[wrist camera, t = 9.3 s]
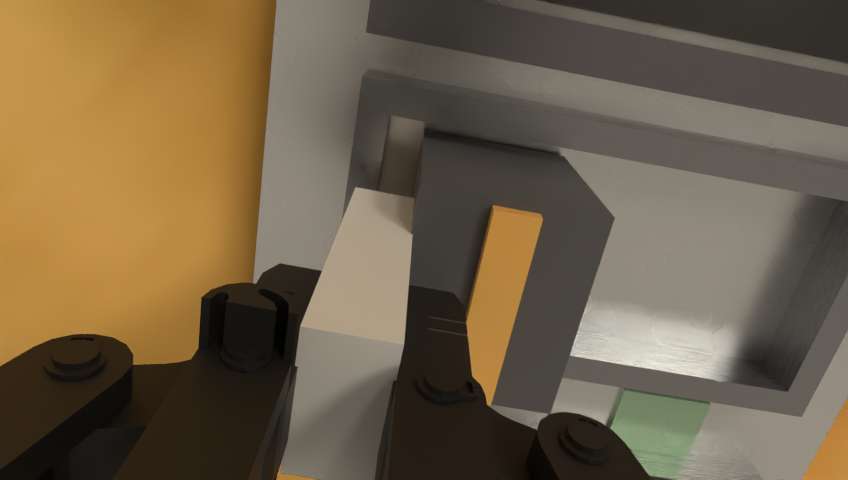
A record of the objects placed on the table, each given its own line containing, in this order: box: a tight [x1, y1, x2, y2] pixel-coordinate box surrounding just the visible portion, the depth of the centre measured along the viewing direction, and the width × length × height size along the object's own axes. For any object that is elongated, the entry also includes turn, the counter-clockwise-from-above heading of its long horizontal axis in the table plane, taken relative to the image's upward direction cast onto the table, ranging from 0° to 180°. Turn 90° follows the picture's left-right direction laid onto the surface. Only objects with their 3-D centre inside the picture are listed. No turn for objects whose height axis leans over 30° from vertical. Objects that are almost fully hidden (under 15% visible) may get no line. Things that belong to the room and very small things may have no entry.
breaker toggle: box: [409, 130, 615, 414], centre depth 15 cm, size 5×4×5 cm
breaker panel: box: [253, 0, 848, 480], centre depth 18 cm, size 18×20×4 cm
